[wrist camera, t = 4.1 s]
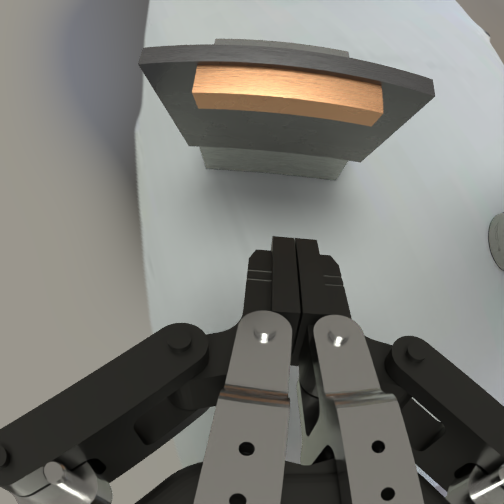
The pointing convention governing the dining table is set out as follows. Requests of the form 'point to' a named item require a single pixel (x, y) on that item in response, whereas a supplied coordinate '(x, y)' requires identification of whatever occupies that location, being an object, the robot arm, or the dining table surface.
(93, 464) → the robot arm
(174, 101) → the lid
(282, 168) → the grey metal box
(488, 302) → the dining table surface
